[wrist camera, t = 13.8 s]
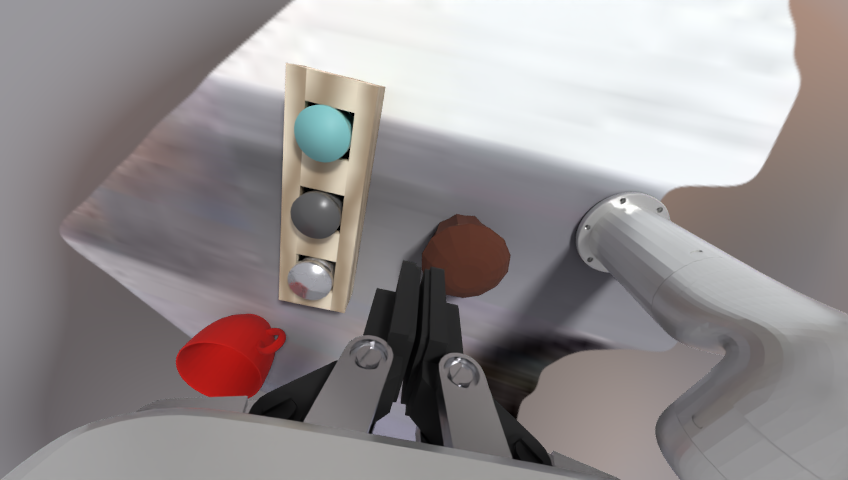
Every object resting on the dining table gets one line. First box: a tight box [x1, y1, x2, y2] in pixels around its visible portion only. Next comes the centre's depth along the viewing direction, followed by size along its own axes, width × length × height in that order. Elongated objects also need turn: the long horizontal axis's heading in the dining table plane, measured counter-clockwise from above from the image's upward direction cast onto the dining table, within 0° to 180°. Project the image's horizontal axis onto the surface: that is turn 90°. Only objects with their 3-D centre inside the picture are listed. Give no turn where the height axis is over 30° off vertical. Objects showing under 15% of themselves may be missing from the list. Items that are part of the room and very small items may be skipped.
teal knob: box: [294, 104, 354, 162], centre depth 37 cm, size 6×6×6 cm
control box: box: [279, 63, 385, 313], centre depth 42 cm, size 10×32×5 cm, turn 167°
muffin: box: [422, 214, 510, 298], centre depth 43 cm, size 12×11×10 cm
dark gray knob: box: [290, 189, 344, 239], centre depth 41 cm, size 6×6×6 cm
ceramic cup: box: [176, 314, 286, 398], centre depth 51 cm, size 13×17×10 cm
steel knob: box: [288, 256, 336, 300], centre depth 45 cm, size 6×6×6 cm
